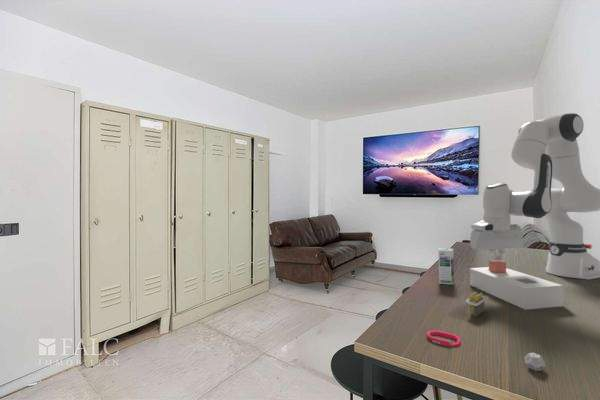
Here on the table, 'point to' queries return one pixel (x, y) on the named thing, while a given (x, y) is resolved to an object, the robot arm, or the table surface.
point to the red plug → (497, 266)
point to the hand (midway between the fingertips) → (497, 259)
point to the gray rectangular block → (526, 281)
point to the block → (518, 288)
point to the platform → (476, 303)
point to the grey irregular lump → (534, 362)
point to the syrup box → (446, 266)
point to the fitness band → (441, 341)
